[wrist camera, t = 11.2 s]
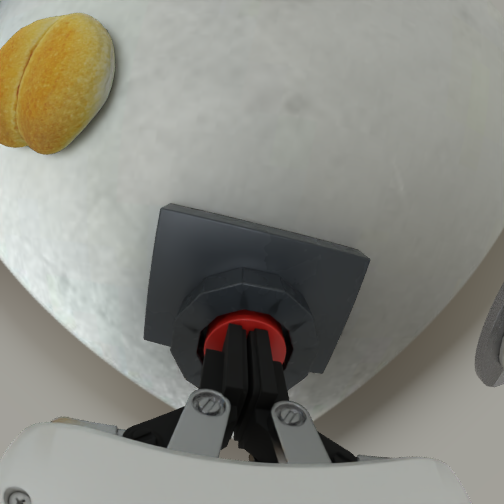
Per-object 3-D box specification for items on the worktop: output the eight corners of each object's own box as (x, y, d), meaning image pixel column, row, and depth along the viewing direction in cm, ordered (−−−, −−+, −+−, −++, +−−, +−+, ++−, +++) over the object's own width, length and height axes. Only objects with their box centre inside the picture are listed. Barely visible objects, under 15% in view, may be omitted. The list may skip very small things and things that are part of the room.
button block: (358, 249, 15) (387, 272, 11) (309, 372, 17) (321, 411, 14) (169, 202, 14) (147, 214, 10) (149, 340, 16) (132, 378, 13)
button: (291, 308, 13) (297, 327, 12) (270, 367, 14) (272, 389, 13) (215, 292, 13) (211, 310, 11) (201, 354, 14) (197, 375, 12)
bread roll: (95, 162, 13) (52, 164, 9) (-4, 141, 12) (-45, 142, 8) (146, 22, 11) (121, -13, 7) (36, 25, 10) (2, 8, 6)
